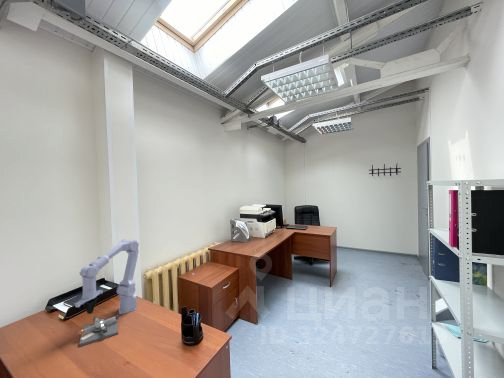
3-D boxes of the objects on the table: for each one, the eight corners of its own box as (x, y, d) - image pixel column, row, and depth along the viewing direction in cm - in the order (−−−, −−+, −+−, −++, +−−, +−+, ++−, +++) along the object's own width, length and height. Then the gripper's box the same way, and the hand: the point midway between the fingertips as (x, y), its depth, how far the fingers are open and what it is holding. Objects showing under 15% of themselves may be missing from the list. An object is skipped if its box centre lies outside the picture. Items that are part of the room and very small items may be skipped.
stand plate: (117, 318, 126) (117, 316, 126) (118, 334, 112) (118, 331, 112) (82, 328, 117) (82, 326, 117) (78, 347, 103) (78, 344, 103)
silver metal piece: (125, 326, 116) (125, 319, 116) (83, 346, 102) (83, 338, 102) (113, 314, 127) (113, 307, 127) (74, 330, 113) (74, 323, 113)
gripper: (94, 281, 123) (95, 305, 123) (69, 294, 108) (70, 320, 109) (105, 282, 122) (106, 305, 122) (81, 295, 107) (82, 321, 107)
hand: (90, 313), depth 115 cm, fingers closed
